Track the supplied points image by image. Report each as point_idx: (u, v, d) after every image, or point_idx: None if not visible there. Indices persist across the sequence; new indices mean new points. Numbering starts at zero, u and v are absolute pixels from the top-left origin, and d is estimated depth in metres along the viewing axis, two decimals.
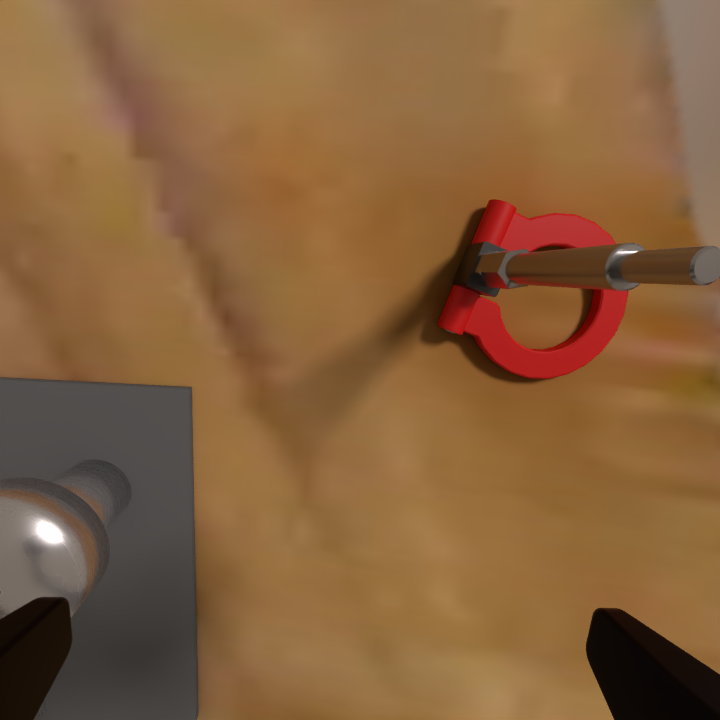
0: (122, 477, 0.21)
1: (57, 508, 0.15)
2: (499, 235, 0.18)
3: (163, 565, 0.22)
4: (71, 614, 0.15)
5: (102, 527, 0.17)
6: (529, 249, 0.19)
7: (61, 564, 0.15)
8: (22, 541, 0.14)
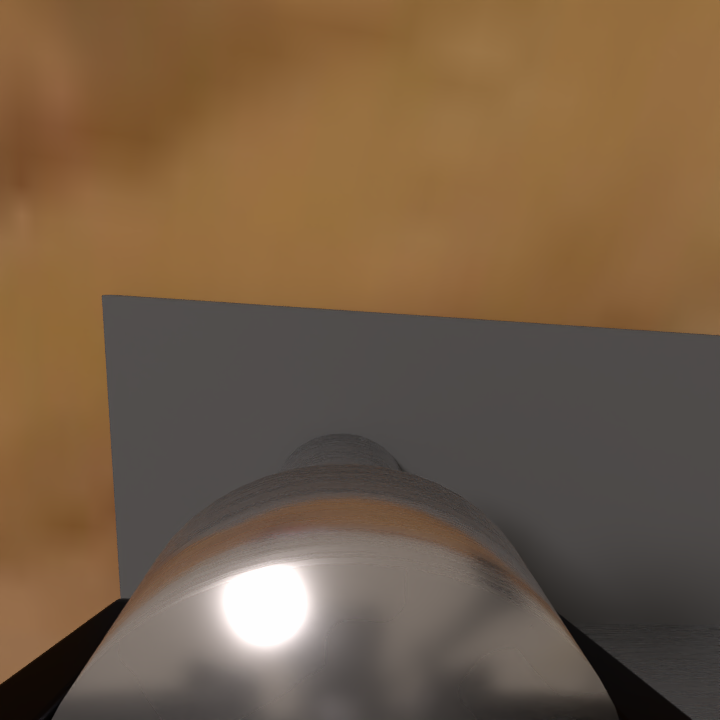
0: (307, 446, 0.10)
1: (138, 593, 0.05)
2: None
3: (524, 386, 0.10)
4: (510, 605, 0.04)
5: (279, 475, 0.05)
6: None
7: (272, 618, 0.04)
8: None
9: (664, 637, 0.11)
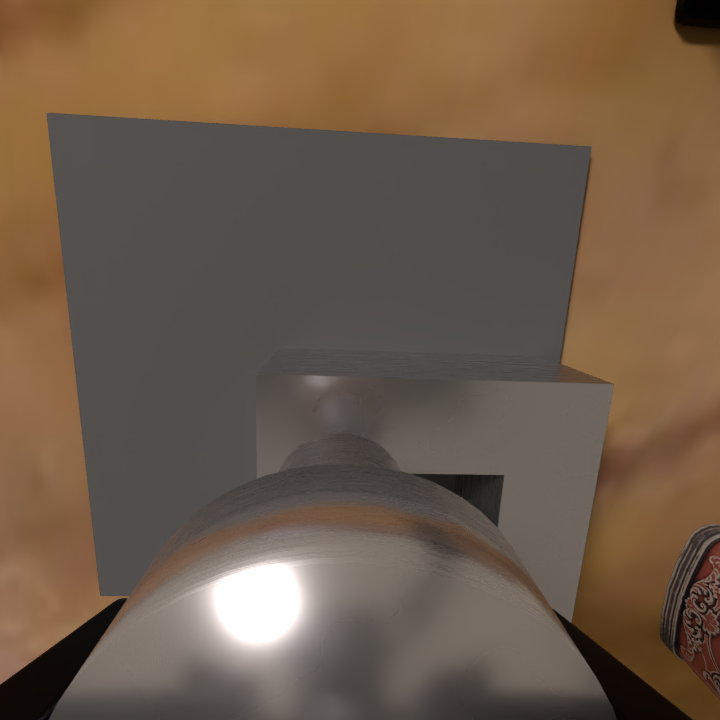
0: (306, 446, 0.10)
1: (136, 592, 0.05)
2: None
3: (319, 173, 0.16)
4: (507, 604, 0.04)
5: (277, 475, 0.05)
6: None
7: (269, 618, 0.04)
8: None
9: (434, 354, 0.17)
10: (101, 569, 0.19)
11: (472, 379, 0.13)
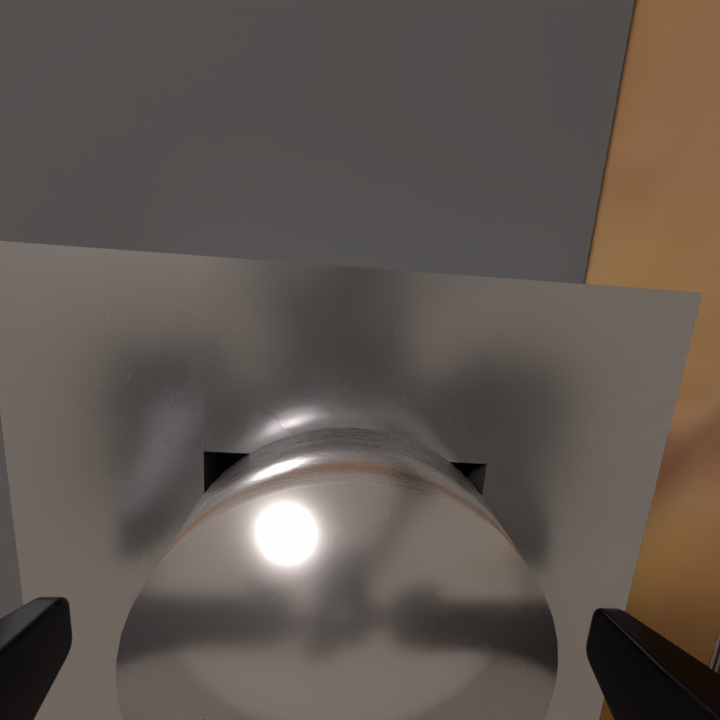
0: None
1: (189, 520, 0.06)
2: None
3: None
4: (465, 516, 0.05)
5: (294, 436, 0.07)
6: None
7: (295, 523, 0.05)
8: (220, 608, 0.05)
9: None
10: None
11: None
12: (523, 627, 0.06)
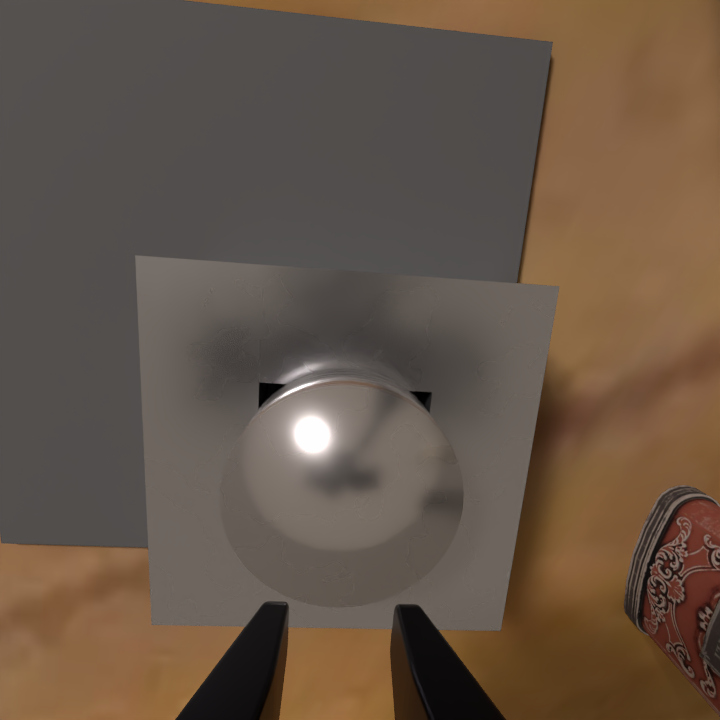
0: None
1: (255, 416, 0.10)
2: None
3: (244, 59, 0.14)
4: (409, 405, 0.10)
5: (314, 373, 0.11)
6: None
7: (318, 408, 0.10)
8: (277, 455, 0.10)
9: None
10: (2, 513, 0.17)
11: (394, 274, 0.11)
12: (443, 471, 0.10)
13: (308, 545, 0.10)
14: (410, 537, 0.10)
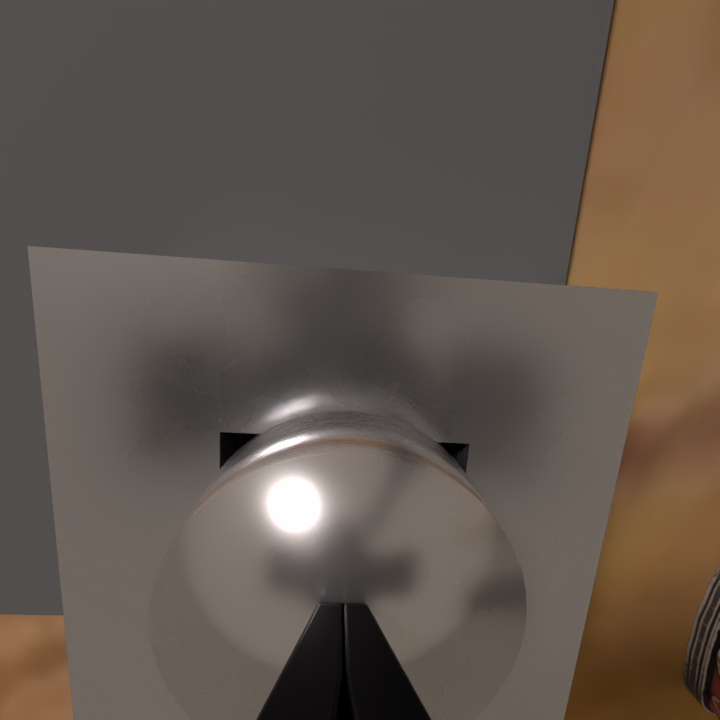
0: None
1: (209, 488, 0.07)
2: None
3: None
4: (446, 481, 0.06)
5: (299, 418, 0.08)
6: None
7: (301, 487, 0.06)
8: (238, 559, 0.06)
9: None
10: None
11: None
12: (496, 578, 0.06)
13: None
14: (444, 674, 0.07)
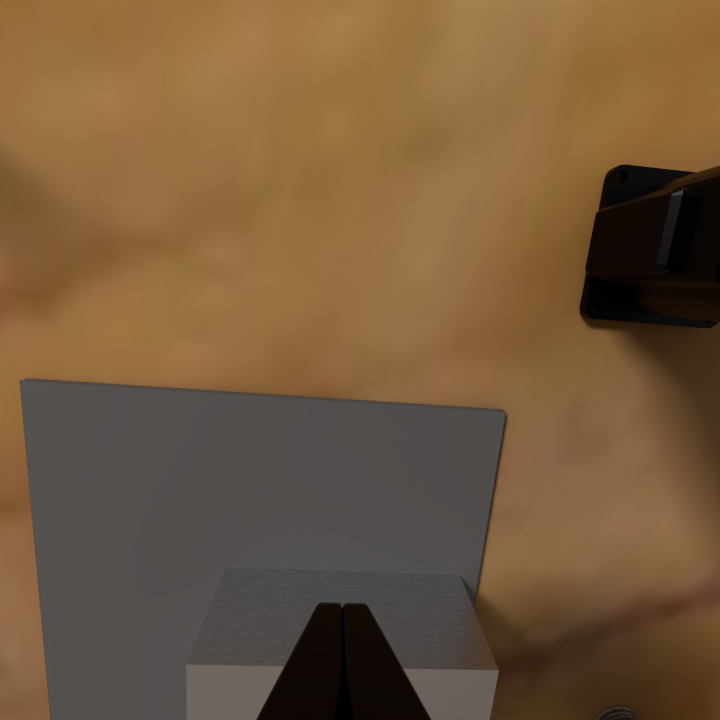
0: None
1: None
2: None
3: (263, 430, 0.18)
4: None
5: None
6: None
7: None
8: None
9: (363, 578, 0.19)
10: None
11: None
12: None
13: None
14: None
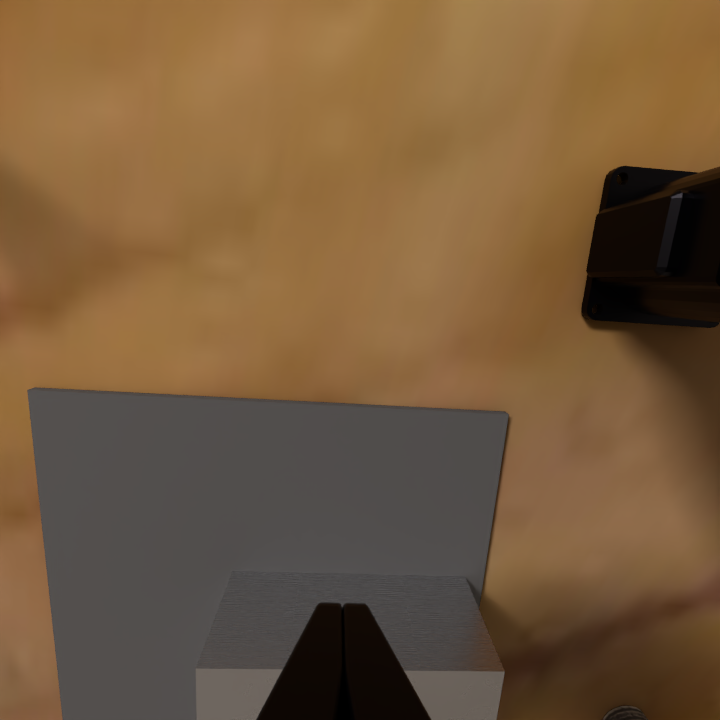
0: None
1: None
2: None
3: (268, 435, 0.18)
4: None
5: None
6: None
7: None
8: None
9: (369, 580, 0.19)
10: None
11: None
12: None
13: None
14: None
